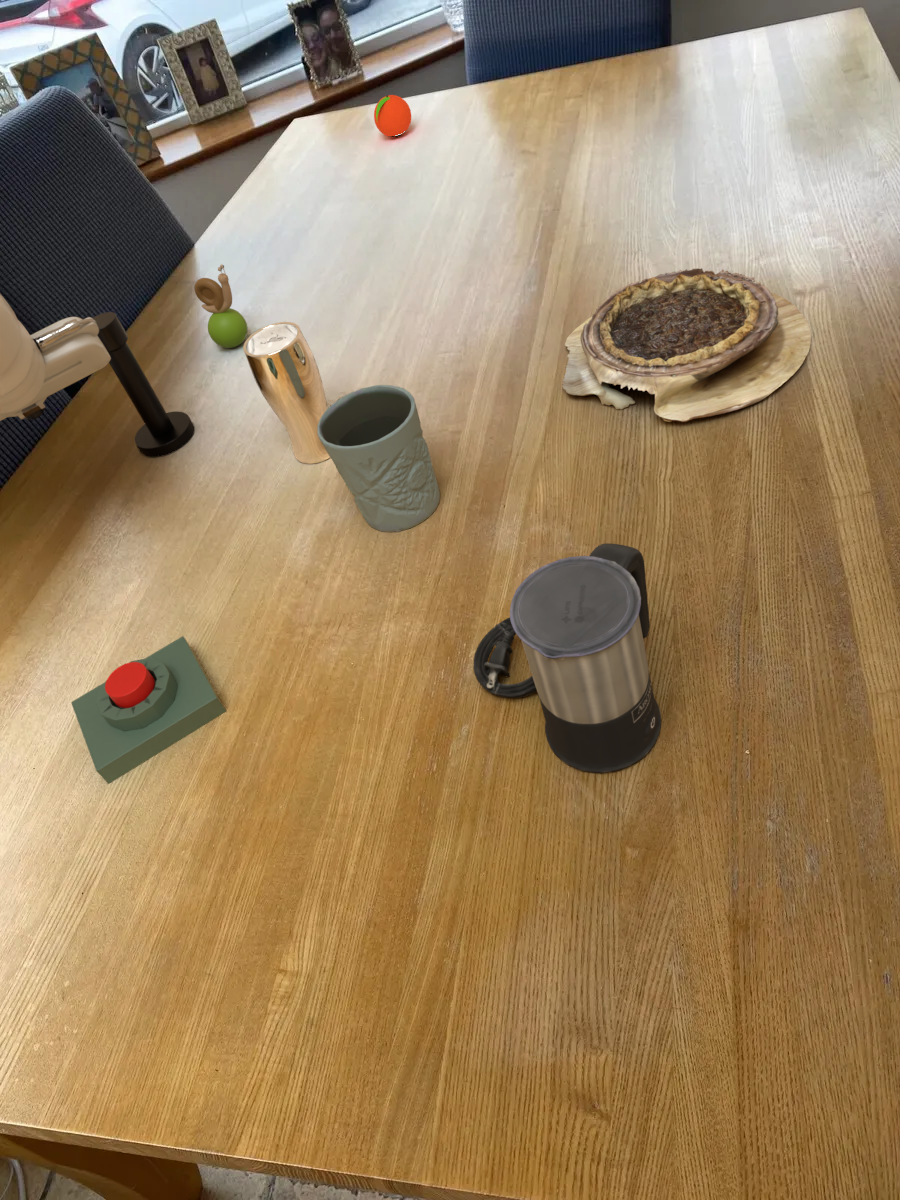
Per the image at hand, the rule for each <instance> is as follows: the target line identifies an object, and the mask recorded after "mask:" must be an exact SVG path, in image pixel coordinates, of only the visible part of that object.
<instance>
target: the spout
mask: <svg viewBox="0 0 900 1200" xmlns="http://www.w3.org/2000/svg"><path fill="white" fill-rule="evenodd" d="M91 318H92V319H93V320H95V321H96V323H97V325H98V328H99V333H98V335H97V336H98V337H99V339H100V340H101V342H102V343H103V345H104V347H105V348H106V350H107V352H111V351H114V350H116V349H118V348H120V347H121V346H122V345H124V344H125V343H126V342H128V339H129V336H128V334H127V331H126V330H125V328H124V327H123V325H122V323H121V321H120V320H119V317H118V316H117V314H116V313H115V312H111V311H109V312H102V313H100V314H97V315H95V316H93V317H91ZM44 413H45V408H43V409H41V410H39V411H37V412H35V413H33V414H31V415H29V416H28V417H25V418H24V419H25V420H27V421H33V420H35V419H38V418H40V417H41V416H42V415H43V414H44Z"/></svg>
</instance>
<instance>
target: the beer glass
mask: <svg viewBox="0 0 900 1200" xmlns="http://www.w3.org/2000/svg"><path fill="white" fill-rule="evenodd" d="M242 348H243V349H242V350H243V353H244V355H245V357H246V360H247V363H248V365H249V368H250V371H251V374H252V376H253V378H254V381H255V382H256V385H257V387H258V389H259V391H260V393H261V394H262V396H263V398H264V399H265V401H266V403H267V404H268V405H269V407H270V408H271V410H272V411H273V412H274V414H275V415H276V417H277V418H278V420H279V421H280V422H281V423H282V425H283V427H284V428H285V430H286V431H287V434H288V436H289V439H290V442H291V446H292V452H293V454H294V457H295V459H296V460H297V461H298V462H299V463H302V464H306V465H312V464H319V463H322V462H325V461H327V460H329V459H331V457H330V456H329V454H328V453H327V451H326V449H325V448H324V446H323V444H322V442H321V441H320V439H319V437H318V432H317V426H318V423H319V420H320V418H321V416H322V415H323V414H324V412H325V411H326V410H327V409H328V408H329V407H328V405H327V400H326V396H325V395H326V394H325V390H324V385H323V381H322V377H321V372H320V369H319V367H318V364H317V362H316V358H315V356H314V353H313V351H312V350H311V347H310V346H309V344H308V341H307V339H306V338H305V336H304V334H303V332H302V330H301V327H300V325H298V324H297V323H295V322H292V321H279V322H274V323H271V324H268V325H266V326H263V327H261V328H259V329H258V330H256V331H254V332H253V333H252V334H250V335H249V336H248V337H247V339H246V340H244V342H243V347H242Z"/></svg>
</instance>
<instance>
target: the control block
mask: <svg viewBox="0 0 900 1200" xmlns="http://www.w3.org/2000/svg"><path fill="white" fill-rule="evenodd" d="M130 662H139V663H141V664H143V665H144V666H145V667H146V668H147V670H148V671H149V672H150V674H151V675H152V676H153V678H154V680H155V687H154V690H153V691H152V692H151V693H150V695H149V696H148V697H147V698H146V699H145V700H144V701H142V702H140V703H139V704H137V705H135V706H134V707H130V708H122V707H119V706H117V705H116V704H115V702H114V701H113V700H112V699H111V698H110V696H109V695H108V694H107V693H106V690H105V684H106V681H107V679H106V680H105V681H104V682H103V683H100V684H99V685H98V686H95V687H94V688H93V689H91V690H89V691H87V692H85V693H84V694H82V695H80V696H79V697H77V698H76V699H74V700H72V701H71V702H70V703H71V706H72V709H73V711H74V714H75V717H76V719H77V722H78V723H77V724H78V725H79V728H80V731H81V733H82V735H83V738H84V741H85V745H86V747H87V750H88V752H89V755H90V758H91V760H92V764H93V766H94V769H95V771H96V772H97V773H98V775H100V777H101V778H102V779H103V780H104V781H105V782H106V783H107V784H108V785H109V784H111V783H113V782H114V781H116V780H118V779H120V778H121V777H123V776H125V775H127V774H128V773H130V772H131V771H132V770H134V769H136V768H137V767H139V766H140V765H142V764H144V763H146V762H147V761H148V760H150V759H152V758H153V757H155V756H157V755H158V754H160V753H162V752H163V751H165V750H166V749H169V748H170V747H171V746H173V745H174V744H176V743H178V742H179V741H181V740H183V739H185V738H186V737H187V736H189V735H191V734H192V733H194V732H196V731H198V730H199V729H200V728H202V727H204V726H205V725H208V724H209V723H210V722H212V721H214V720H215V719H217V718H218V717H220V716H221V715H223V714H225V713H226V712H227V710H226V707H225V705H224V703H223V702H222V700H221V698H220V696H219V695H218V693H217V691H216V689H215V687H214V686H213V684H212V682H211V680H210V678H209V677H208V675H207V673H206V671H205V668H204V667H203V665H202V663H201V662H200V660H199V658H198V656H197V654H196V653H195V651H194V649H193V648H192V646H191V645H190V643H189V642H188V641H187V639H186V637H185V636H184V635H182V636H180V637H178V638H177V639H175V640H174V641H172V642H170V643H168V644H166V645H165V646H164V647H162V648H160V649H159V650H157V651H155V652H153V653H152V654H151V655H148V656H147V657H145V658H141V659H136V660H131V661H129V662H128V663H130Z"/></svg>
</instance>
